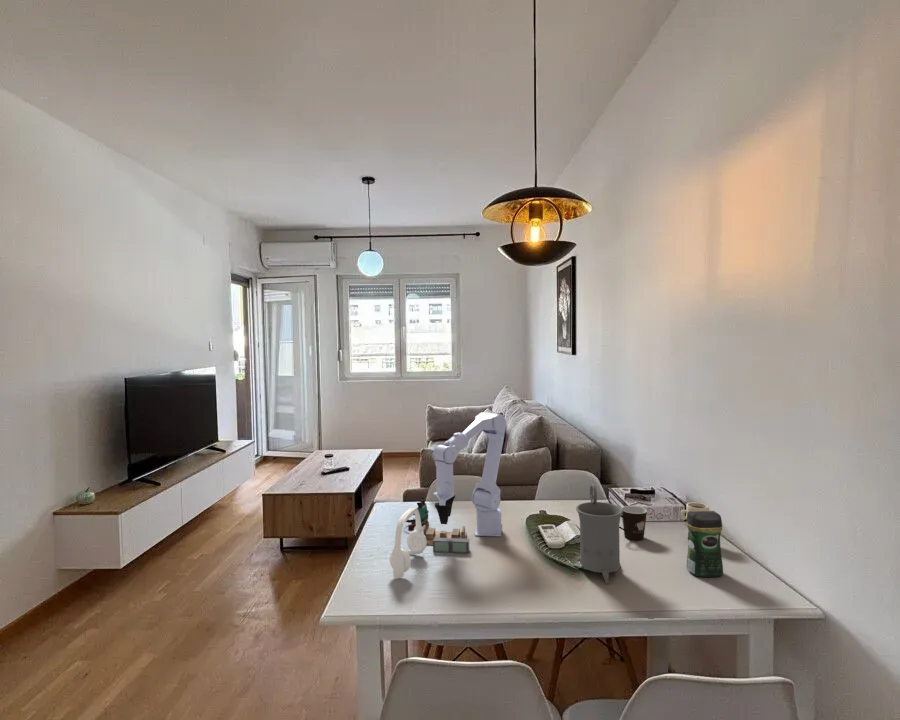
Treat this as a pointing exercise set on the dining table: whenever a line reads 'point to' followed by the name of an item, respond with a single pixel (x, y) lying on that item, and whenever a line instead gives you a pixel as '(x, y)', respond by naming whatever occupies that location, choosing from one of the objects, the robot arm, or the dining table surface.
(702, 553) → the coffee jar
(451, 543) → the grey rectangular box
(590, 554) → the gray footed pot
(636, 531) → the coffee mug
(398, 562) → the headset
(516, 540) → the dining table surface
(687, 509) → the character mug
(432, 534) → the stand
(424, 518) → the binoculars
